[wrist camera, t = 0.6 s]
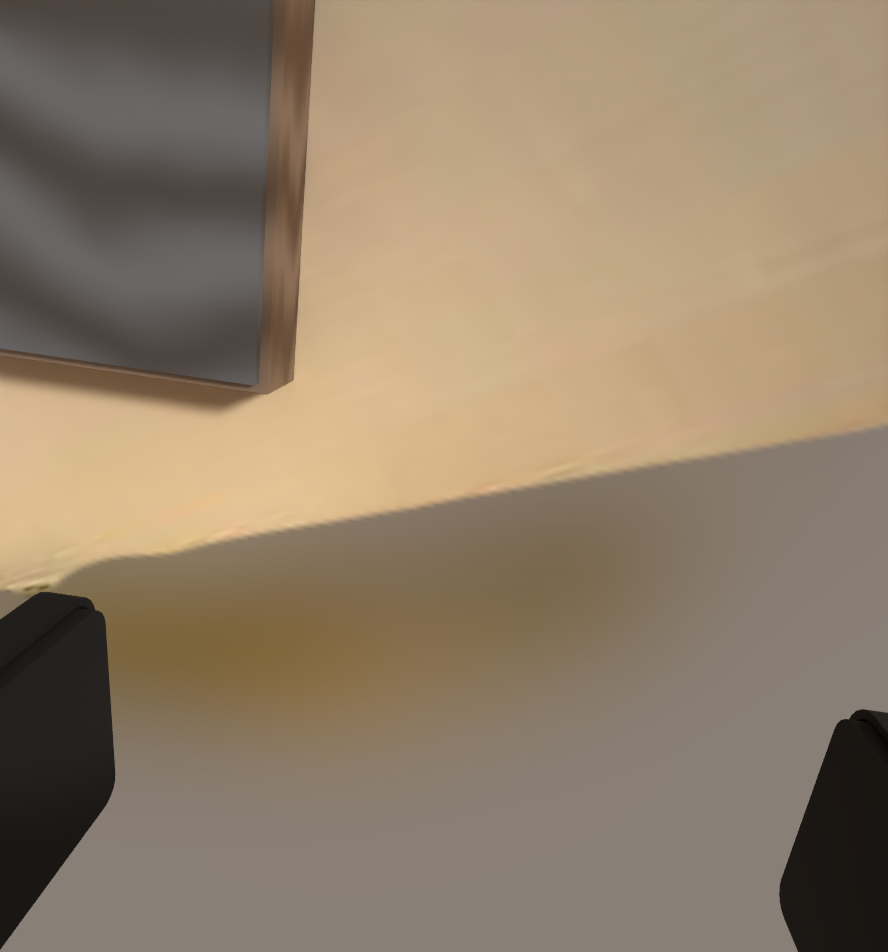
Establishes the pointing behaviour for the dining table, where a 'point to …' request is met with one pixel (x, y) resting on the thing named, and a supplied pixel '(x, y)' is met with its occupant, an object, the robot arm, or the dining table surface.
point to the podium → (154, 185)
